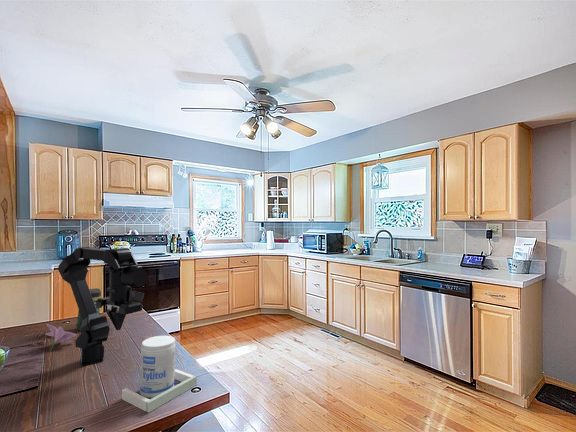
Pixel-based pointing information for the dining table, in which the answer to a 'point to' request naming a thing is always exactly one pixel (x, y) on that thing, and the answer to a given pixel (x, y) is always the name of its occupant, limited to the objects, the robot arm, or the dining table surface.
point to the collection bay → (151, 404)
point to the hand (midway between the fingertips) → (118, 329)
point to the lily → (60, 334)
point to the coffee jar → (95, 296)
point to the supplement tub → (157, 365)
